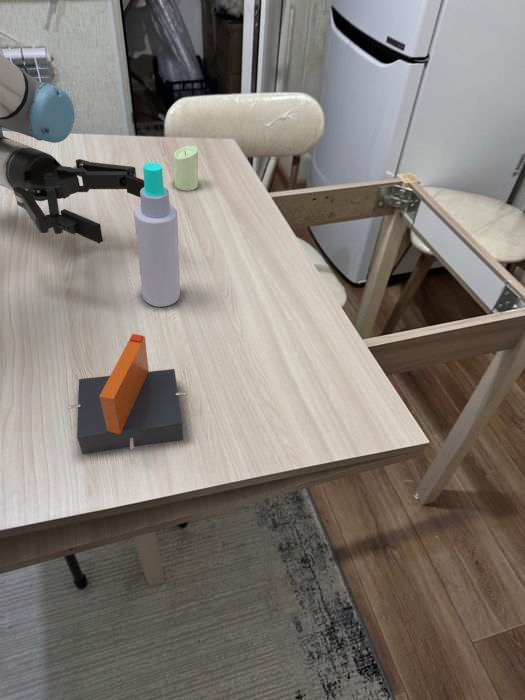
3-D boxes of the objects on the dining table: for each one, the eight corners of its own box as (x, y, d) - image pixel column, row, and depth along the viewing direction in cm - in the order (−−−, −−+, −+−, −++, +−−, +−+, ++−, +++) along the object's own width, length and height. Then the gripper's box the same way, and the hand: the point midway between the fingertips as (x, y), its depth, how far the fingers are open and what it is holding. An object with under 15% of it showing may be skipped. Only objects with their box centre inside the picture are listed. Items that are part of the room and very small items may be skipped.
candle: (178, 191, 105) (177, 154, 99) (172, 181, 108) (171, 144, 102) (200, 189, 106) (200, 152, 101) (194, 179, 109) (194, 142, 104)
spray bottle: (139, 287, 81) (125, 158, 65) (175, 282, 83) (169, 155, 67) (146, 310, 77) (133, 178, 61) (184, 304, 79) (180, 175, 63)
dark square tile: (71, 474, 56) (65, 457, 53) (75, 382, 65) (70, 363, 63) (194, 456, 59) (194, 439, 56) (181, 371, 69) (180, 353, 66)
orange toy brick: (120, 434, 56) (113, 397, 51) (107, 431, 56) (98, 394, 51) (148, 372, 63) (144, 334, 58) (136, 369, 63) (132, 332, 58)
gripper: (86, 167, 88) (182, 204, 82) (-35, 224, 72) (74, 275, 66) (79, 124, 83) (181, 160, 77) (-53, 176, 67) (63, 227, 60)
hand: (132, 214), depth 71 cm, fingers open, 13 cm apart
